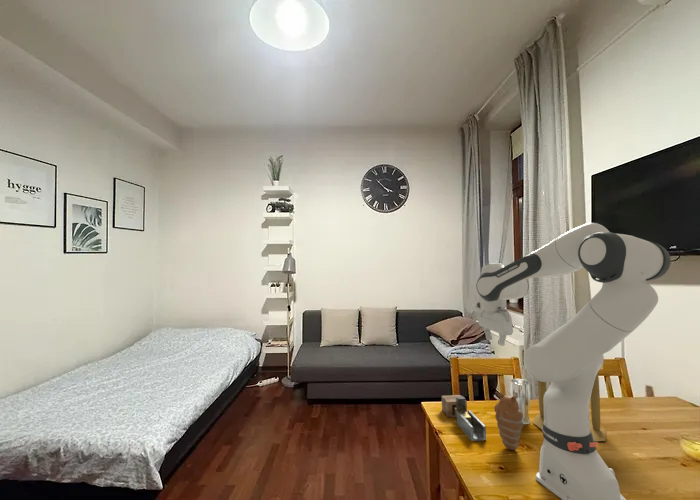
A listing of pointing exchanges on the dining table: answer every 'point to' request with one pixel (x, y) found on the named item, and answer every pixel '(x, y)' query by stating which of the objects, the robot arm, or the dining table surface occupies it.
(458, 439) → the dining table surface
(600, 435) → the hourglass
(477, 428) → the grey track with slider
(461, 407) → the tan grey t-shaped block
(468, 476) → the dining table surface
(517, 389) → the silver cup
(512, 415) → the cat ice cream
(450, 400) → the socket
